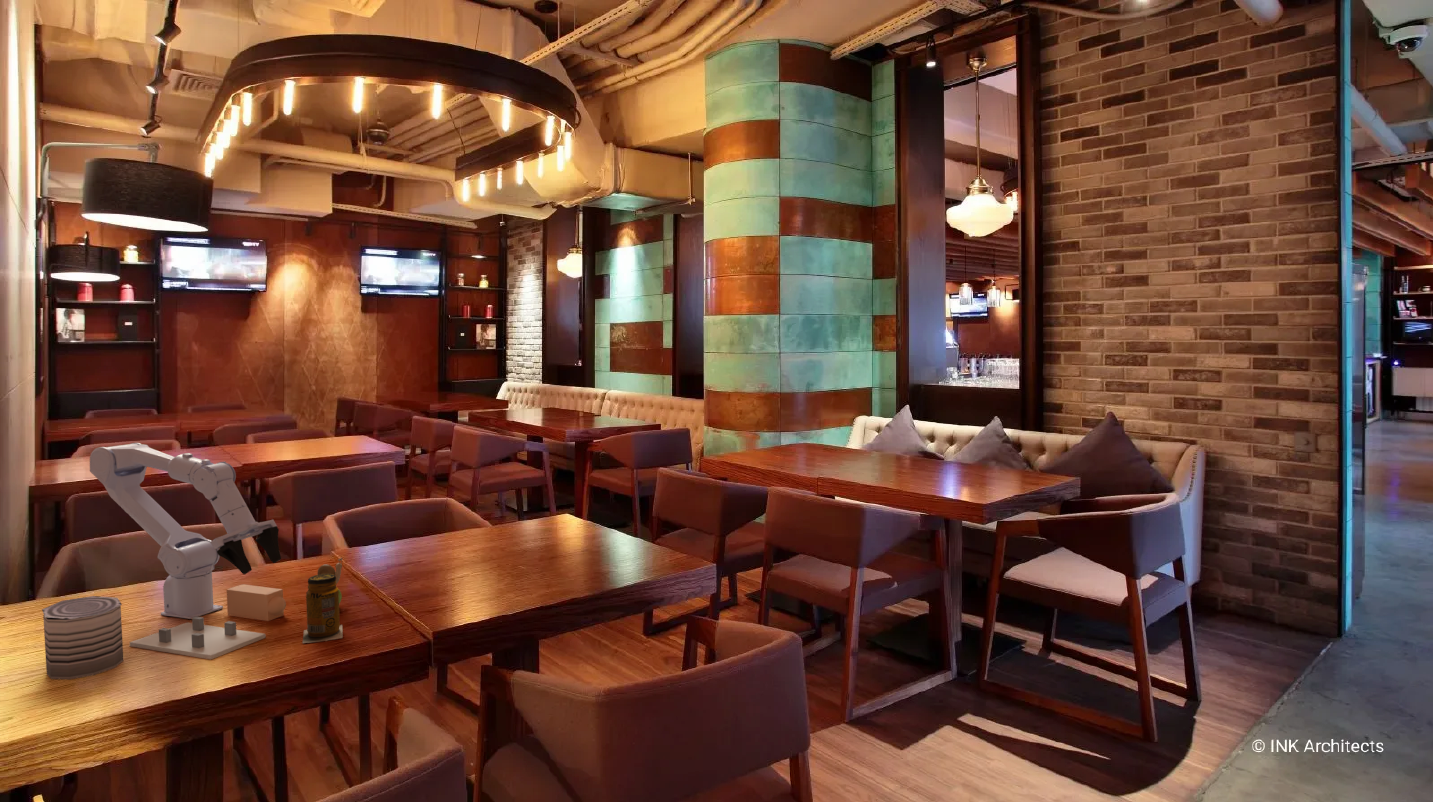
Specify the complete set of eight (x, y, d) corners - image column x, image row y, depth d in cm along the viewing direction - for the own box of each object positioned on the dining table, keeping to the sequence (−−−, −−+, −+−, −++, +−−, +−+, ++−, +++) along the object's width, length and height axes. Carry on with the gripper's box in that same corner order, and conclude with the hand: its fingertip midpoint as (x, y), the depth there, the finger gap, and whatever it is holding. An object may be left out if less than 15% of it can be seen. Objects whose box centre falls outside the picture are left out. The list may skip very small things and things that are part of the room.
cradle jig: (129, 645, 157) (128, 629, 156) (187, 625, 168) (186, 610, 168) (210, 659, 149) (210, 642, 149) (265, 637, 161) (264, 621, 161)
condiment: (342, 625, 168) (340, 570, 167) (342, 638, 160) (340, 580, 159) (303, 631, 165) (301, 574, 164) (302, 644, 157) (299, 585, 156)
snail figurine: (335, 614, 175) (333, 561, 174) (309, 612, 176) (307, 560, 175) (351, 606, 180) (349, 555, 179) (326, 604, 181) (324, 553, 181)
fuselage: (227, 615, 175) (226, 589, 174) (243, 610, 179) (242, 584, 178) (275, 622, 170) (273, 595, 170) (290, 616, 174) (289, 590, 174)
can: (114, 650, 154) (111, 591, 153) (132, 665, 147) (128, 602, 146) (39, 669, 145) (35, 605, 145) (53, 685, 138) (49, 618, 137)
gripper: (214, 513, 165) (245, 569, 164) (272, 496, 179) (301, 548, 178) (194, 528, 167) (224, 583, 167) (253, 510, 181) (281, 561, 180)
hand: (262, 566), depth 173 cm, fingers open, 7 cm apart
